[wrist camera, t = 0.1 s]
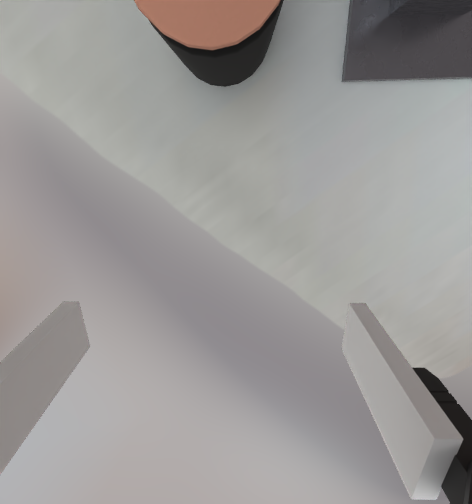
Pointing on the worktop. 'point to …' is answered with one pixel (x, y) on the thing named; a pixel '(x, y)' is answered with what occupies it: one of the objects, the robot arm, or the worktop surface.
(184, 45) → the coffee jar
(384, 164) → the worktop surface
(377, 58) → the stand
